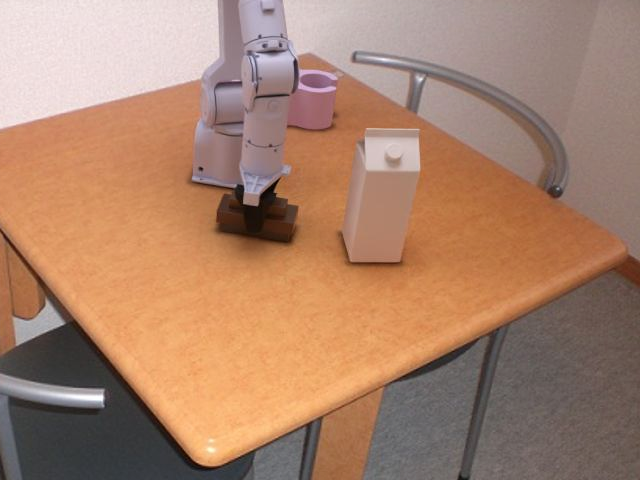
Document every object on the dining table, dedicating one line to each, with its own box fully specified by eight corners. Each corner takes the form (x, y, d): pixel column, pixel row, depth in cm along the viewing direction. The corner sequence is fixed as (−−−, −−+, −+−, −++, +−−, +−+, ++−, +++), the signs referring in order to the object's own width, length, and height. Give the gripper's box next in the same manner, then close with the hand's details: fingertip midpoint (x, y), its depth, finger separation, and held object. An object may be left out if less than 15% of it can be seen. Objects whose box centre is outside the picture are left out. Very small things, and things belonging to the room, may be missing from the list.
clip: (334, 103, 158) (340, 67, 154) (329, 137, 149) (334, 100, 144) (225, 89, 160) (226, 53, 155) (212, 122, 150) (214, 84, 146)
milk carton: (341, 233, 128) (360, 115, 116) (389, 233, 129) (413, 115, 116) (349, 263, 122) (371, 142, 110) (399, 263, 123) (426, 143, 111)
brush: (215, 230, 126) (217, 201, 123) (222, 213, 130) (224, 183, 127) (291, 243, 125) (294, 214, 122) (296, 225, 129) (300, 196, 125)
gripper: (284, 168, 112) (275, 254, 121) (302, 115, 123) (292, 197, 132) (230, 160, 113) (225, 245, 121) (252, 108, 124) (246, 190, 132)
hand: (256, 220), depth 127 cm, fingers closed on brush, 4 cm apart
